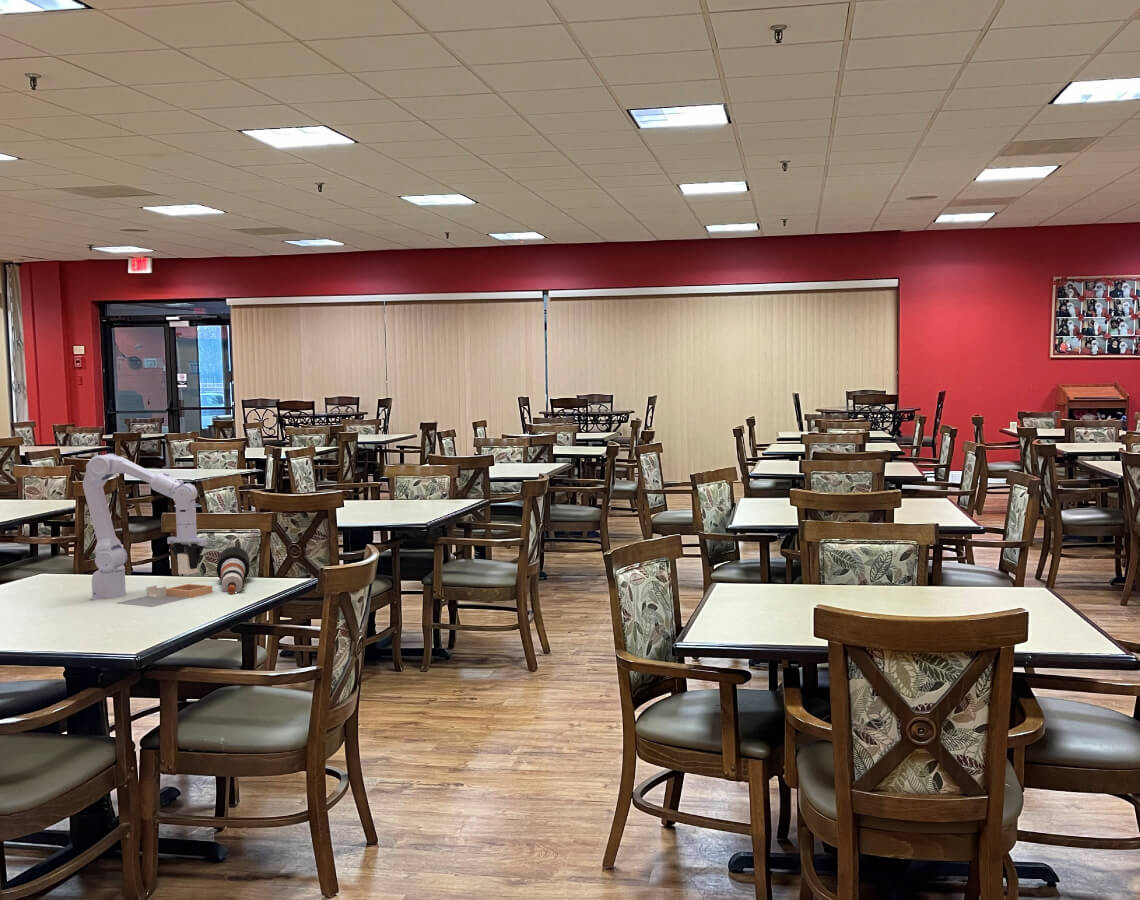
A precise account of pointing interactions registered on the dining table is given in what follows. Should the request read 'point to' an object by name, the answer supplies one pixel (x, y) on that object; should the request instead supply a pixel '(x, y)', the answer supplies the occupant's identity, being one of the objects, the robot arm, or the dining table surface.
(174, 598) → the board
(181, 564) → the connector
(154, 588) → the clip
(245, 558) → the cable
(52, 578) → the dining table surface
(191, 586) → the frame
